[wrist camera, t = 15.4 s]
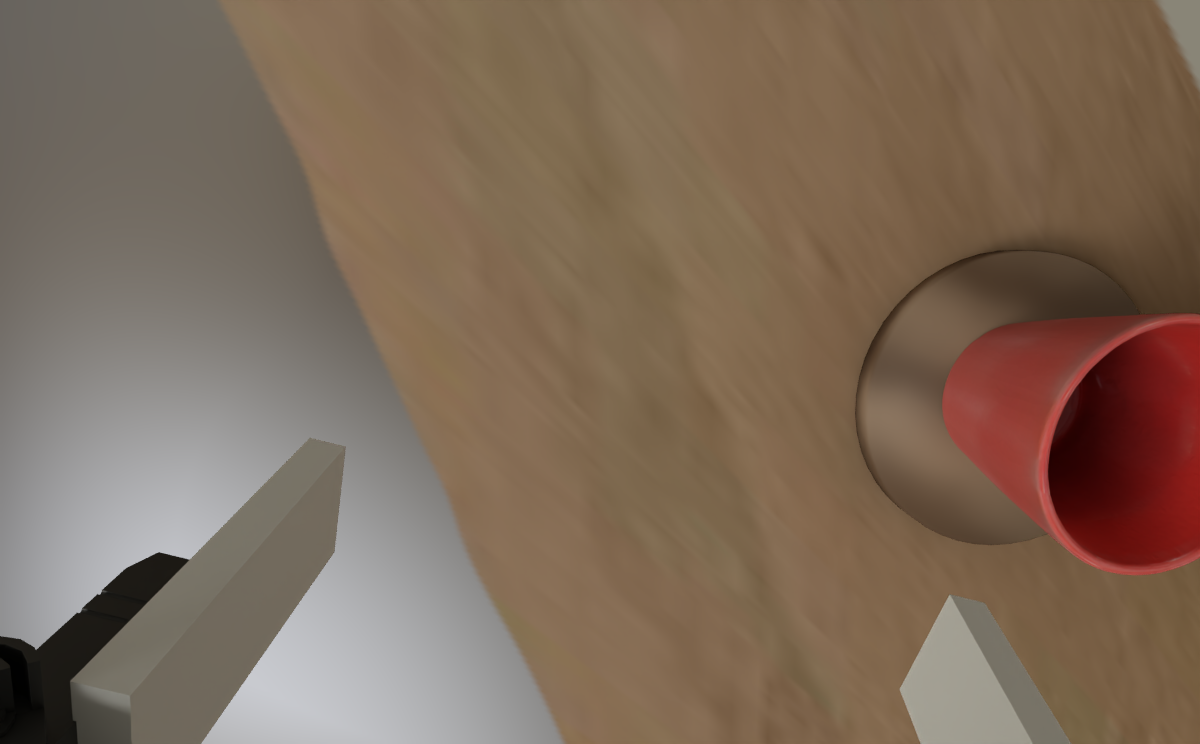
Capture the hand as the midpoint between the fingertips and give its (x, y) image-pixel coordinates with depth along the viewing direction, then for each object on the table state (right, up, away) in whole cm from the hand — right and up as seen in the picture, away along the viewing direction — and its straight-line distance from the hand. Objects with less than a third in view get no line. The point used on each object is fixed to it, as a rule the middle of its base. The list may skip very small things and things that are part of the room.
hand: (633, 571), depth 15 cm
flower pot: (+21, +3, +23) cm, 31 cm away
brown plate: (+21, +3, +24) cm, 32 cm away
